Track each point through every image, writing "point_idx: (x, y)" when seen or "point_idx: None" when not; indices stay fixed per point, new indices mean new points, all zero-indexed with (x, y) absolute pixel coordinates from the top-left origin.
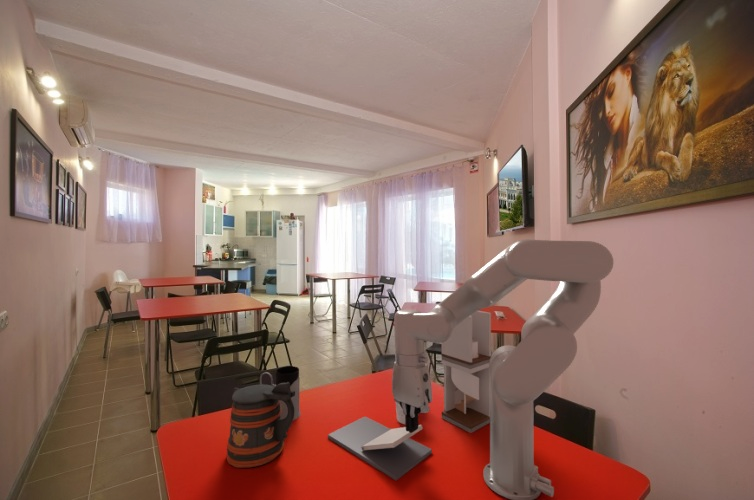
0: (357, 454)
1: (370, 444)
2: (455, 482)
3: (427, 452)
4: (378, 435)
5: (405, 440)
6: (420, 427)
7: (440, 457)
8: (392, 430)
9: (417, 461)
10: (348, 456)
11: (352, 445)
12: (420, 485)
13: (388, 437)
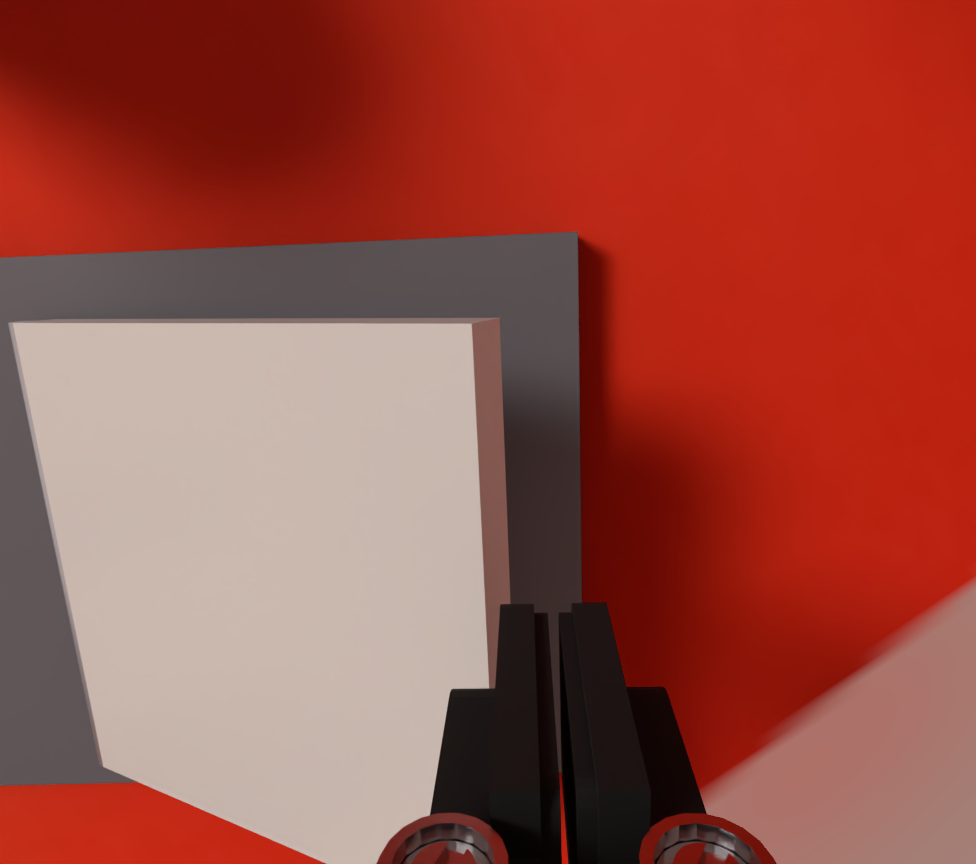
0: None
1: (169, 774)
2: (969, 437)
3: (578, 319)
4: (2, 463)
5: (262, 317)
6: (486, 368)
7: (681, 228)
8: (79, 396)
9: (578, 486)
10: (96, 802)
11: (4, 749)
12: (754, 660)
13: (242, 662)
